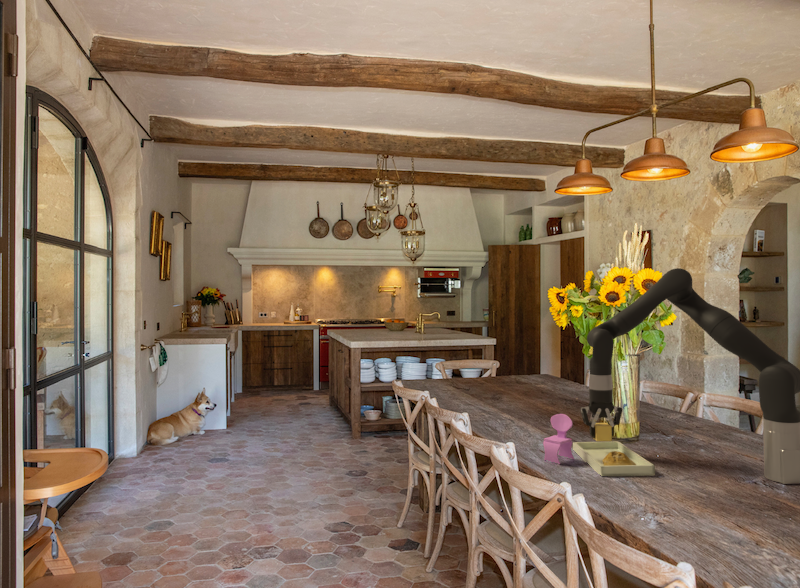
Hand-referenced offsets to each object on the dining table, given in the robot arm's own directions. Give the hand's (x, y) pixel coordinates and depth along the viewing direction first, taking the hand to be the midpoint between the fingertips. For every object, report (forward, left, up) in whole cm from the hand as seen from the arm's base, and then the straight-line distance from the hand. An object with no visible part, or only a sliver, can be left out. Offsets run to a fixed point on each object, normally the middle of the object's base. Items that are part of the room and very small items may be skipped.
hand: (601, 437), depth 191 cm
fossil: (-16, +1, -5) cm, 17 cm away
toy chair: (-5, +16, -6) cm, 18 cm away
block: (0, 0, -1) cm, 1 cm away
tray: (-8, 0, -6) cm, 10 cm away
